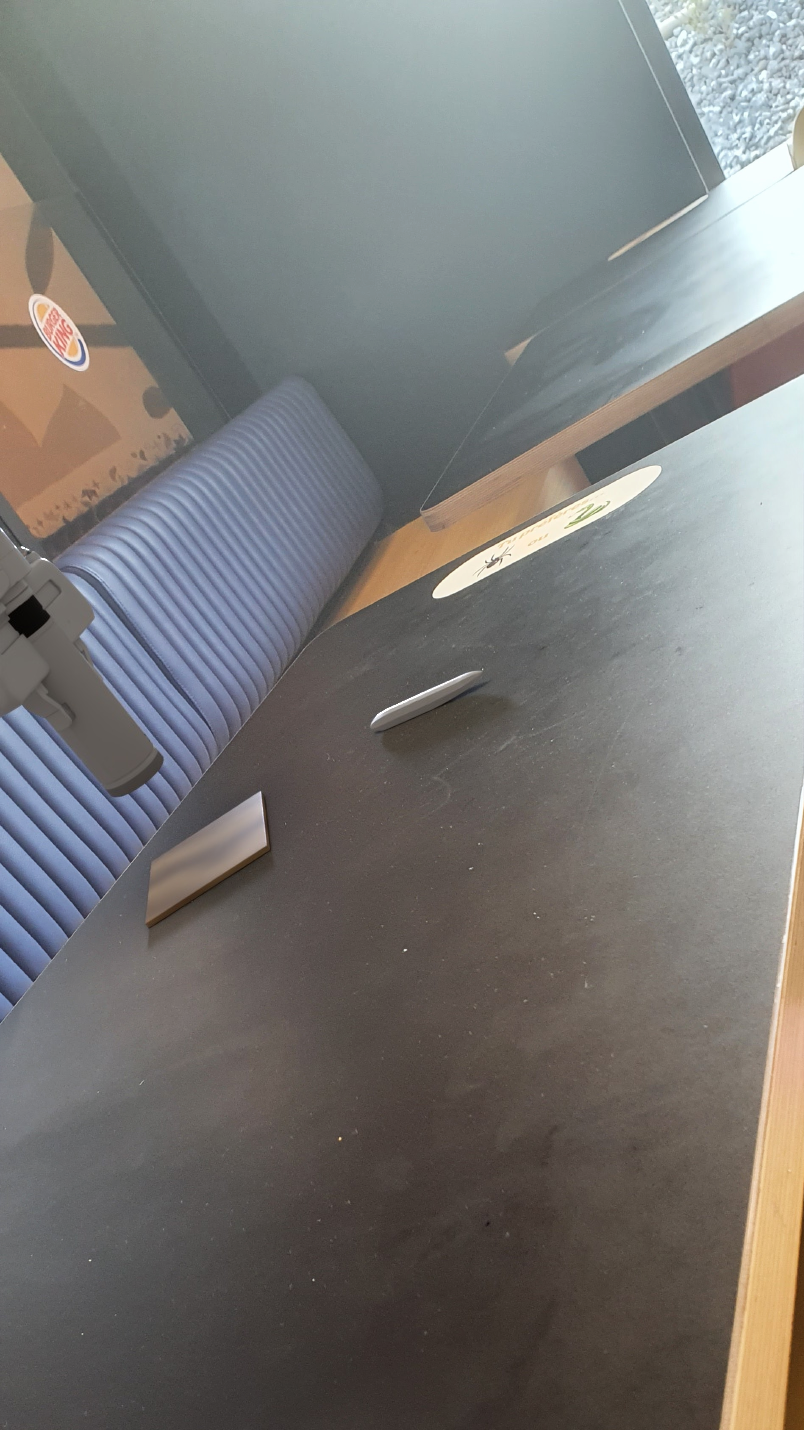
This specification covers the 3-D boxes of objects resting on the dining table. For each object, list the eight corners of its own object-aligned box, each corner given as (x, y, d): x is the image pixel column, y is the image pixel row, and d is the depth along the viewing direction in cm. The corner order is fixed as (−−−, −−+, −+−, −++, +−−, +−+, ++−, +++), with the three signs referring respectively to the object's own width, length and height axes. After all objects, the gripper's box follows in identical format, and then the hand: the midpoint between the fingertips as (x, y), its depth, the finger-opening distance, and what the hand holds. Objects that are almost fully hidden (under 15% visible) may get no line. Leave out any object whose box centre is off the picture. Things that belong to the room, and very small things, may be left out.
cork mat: (154, 865, 123) (151, 861, 122) (264, 794, 122) (260, 790, 122) (148, 928, 110) (144, 924, 110) (270, 849, 109) (266, 845, 109)
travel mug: (175, 747, 113) (39, 573, 103) (150, 785, 108) (4, 606, 98) (127, 768, 115) (-10, 601, 106) (101, 806, 110) (-46, 634, 100)
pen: (488, 685, 113) (479, 671, 112) (371, 736, 118) (363, 724, 118) (490, 677, 114) (482, 664, 113) (375, 728, 120) (366, 716, 119)
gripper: (-1, 555, 110) (94, 672, 117) (-103, 644, 93) (14, 775, 100) (48, 524, 108) (142, 645, 115) (-47, 610, 91) (69, 745, 98)
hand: (82, 706), depth 107 cm, fingers closed on travel mug, 6 cm apart
